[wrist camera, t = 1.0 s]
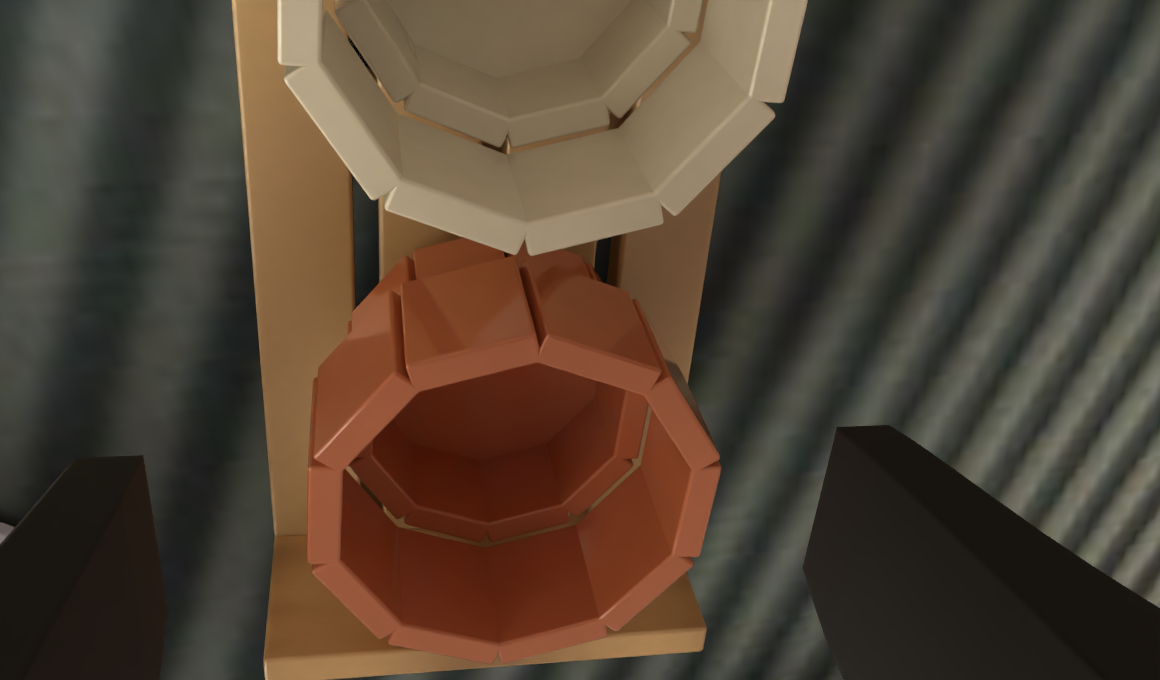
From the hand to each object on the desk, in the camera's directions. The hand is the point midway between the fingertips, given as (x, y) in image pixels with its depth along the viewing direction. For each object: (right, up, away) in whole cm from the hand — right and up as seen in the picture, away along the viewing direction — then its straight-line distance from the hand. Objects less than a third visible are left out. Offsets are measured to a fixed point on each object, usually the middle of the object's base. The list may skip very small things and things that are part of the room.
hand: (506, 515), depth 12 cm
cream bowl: (0, +8, +4) cm, 9 cm away
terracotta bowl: (-1, +2, +7) cm, 8 cm away
